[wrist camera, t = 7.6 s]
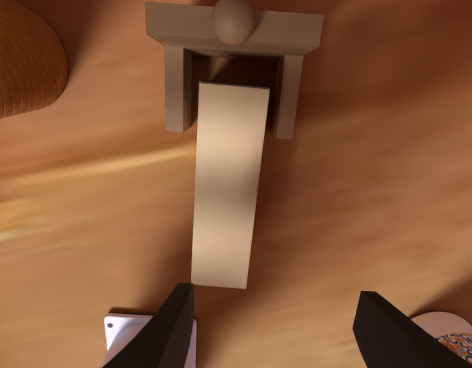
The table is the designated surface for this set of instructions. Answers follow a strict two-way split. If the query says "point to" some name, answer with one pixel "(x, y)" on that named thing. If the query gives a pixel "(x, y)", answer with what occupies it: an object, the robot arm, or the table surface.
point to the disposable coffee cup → (28, 61)
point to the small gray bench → (232, 51)
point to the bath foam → (448, 331)
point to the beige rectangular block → (226, 181)
